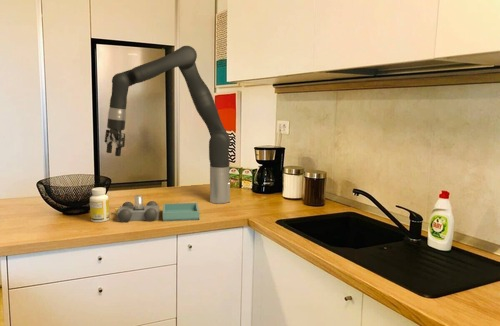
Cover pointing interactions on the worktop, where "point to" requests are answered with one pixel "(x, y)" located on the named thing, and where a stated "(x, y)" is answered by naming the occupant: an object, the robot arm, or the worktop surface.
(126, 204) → the trolley
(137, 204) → the pin
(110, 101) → the robot arm
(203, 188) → the worktop surface
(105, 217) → the supplement bottle
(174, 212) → the tray
